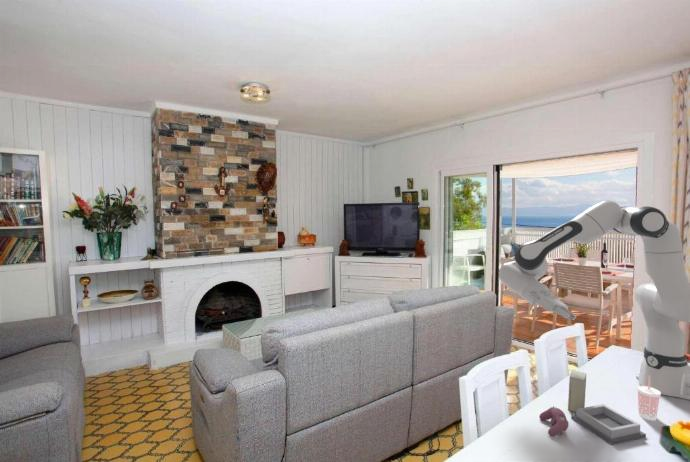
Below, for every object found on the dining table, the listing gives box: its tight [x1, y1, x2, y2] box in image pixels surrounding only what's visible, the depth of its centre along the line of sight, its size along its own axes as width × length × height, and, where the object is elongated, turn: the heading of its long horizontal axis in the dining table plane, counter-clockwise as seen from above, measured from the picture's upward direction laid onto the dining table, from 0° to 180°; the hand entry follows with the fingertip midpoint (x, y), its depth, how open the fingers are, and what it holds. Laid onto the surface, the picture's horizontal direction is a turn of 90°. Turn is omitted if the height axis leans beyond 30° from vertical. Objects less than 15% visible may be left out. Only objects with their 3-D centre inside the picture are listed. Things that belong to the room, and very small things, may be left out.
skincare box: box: [567, 369, 587, 414], centre depth 126 cm, size 6×4×12 cm
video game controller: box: [539, 406, 569, 437], centre depth 115 cm, size 10×5×7 cm, turn 169°
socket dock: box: [570, 403, 647, 445], centre depth 115 cm, size 13×14×4 cm
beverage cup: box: [636, 375, 662, 421], centre depth 121 cm, size 6×6×14 cm
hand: (571, 317), depth 130 cm, fingers open, 8 cm apart
